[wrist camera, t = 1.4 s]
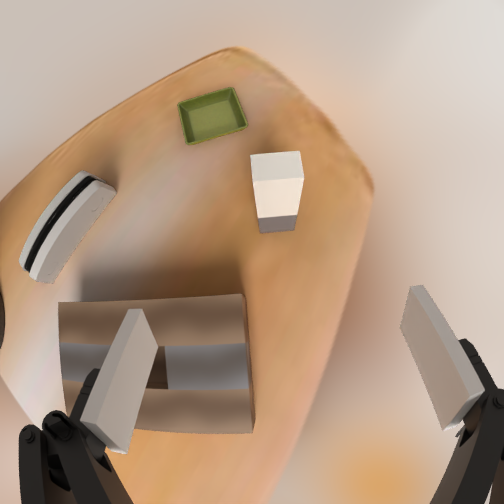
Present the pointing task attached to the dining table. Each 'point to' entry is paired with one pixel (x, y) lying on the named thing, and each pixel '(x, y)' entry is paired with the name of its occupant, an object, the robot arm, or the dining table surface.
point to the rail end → (277, 189)
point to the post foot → (171, 360)
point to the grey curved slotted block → (64, 225)
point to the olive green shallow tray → (211, 116)
